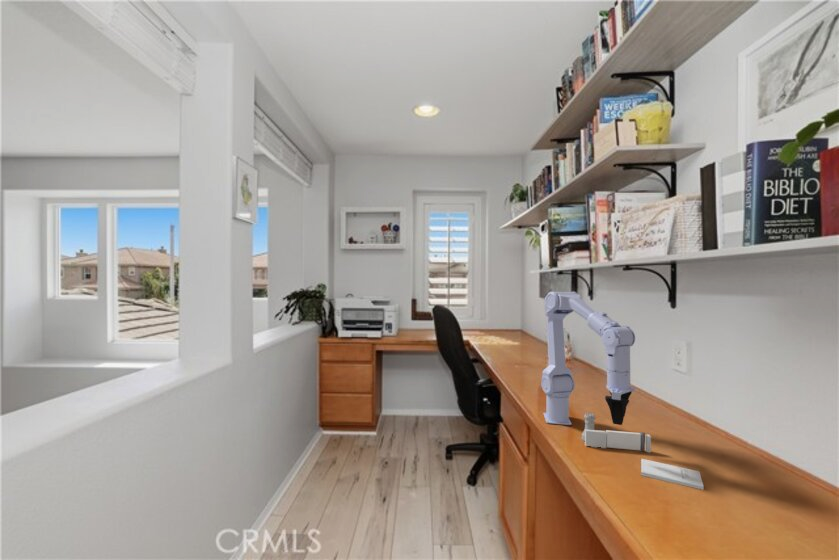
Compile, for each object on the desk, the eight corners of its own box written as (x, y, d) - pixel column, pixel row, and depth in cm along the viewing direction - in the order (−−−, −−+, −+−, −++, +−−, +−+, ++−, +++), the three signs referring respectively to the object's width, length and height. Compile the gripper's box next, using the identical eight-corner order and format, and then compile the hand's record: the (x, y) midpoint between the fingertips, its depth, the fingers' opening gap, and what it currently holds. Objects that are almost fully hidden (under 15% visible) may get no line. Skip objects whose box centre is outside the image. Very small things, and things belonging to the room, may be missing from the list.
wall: (584, 444, 111) (585, 429, 111) (649, 450, 108) (649, 434, 108) (585, 446, 110) (585, 430, 110) (650, 452, 106) (650, 436, 106)
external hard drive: (641, 464, 101) (699, 476, 95) (641, 477, 94) (703, 492, 88) (641, 457, 101) (699, 470, 95) (641, 471, 94) (703, 485, 88)
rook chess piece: (583, 443, 112) (583, 415, 112) (579, 437, 117) (580, 410, 117) (599, 444, 111) (599, 417, 111) (595, 438, 116) (595, 411, 116)
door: (605, 445, 110) (606, 429, 110) (643, 449, 108) (643, 432, 108) (607, 447, 109) (607, 430, 109) (645, 451, 107) (645, 433, 107)
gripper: (633, 377, 97) (634, 431, 97) (636, 367, 109) (637, 415, 109) (602, 373, 101) (603, 425, 100) (609, 364, 113) (609, 410, 113)
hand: (618, 419), depth 105 cm, fingers open, 7 cm apart
